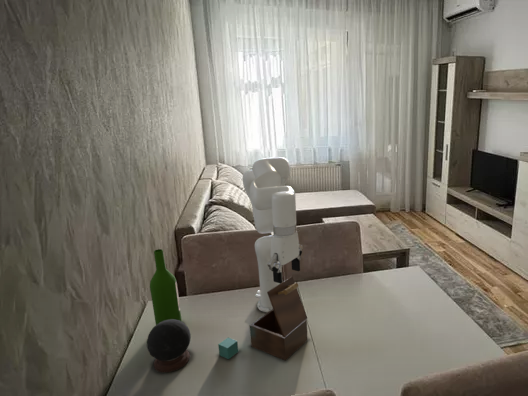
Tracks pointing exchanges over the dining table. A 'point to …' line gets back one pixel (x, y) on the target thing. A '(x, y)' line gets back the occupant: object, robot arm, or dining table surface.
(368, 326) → the dining table surface
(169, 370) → the ball on stand
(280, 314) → the chest lid
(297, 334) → the chest
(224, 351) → the block
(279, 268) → the robot arm
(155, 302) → the wine bottle
